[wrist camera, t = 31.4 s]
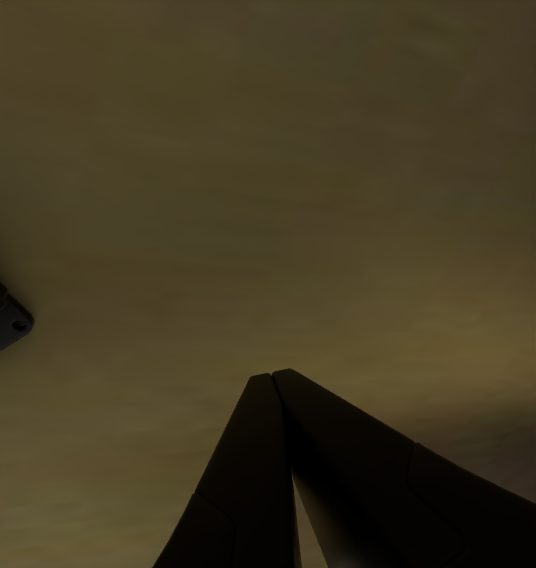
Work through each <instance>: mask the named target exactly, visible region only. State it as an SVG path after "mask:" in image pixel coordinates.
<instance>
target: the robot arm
mask: <svg viewBox="0 0 536 568" xmlns="http://www.w3.org/2000/svg"><path fill="white" fill-rule="evenodd" d="M17 320H18V321H22V322H24V323H25V325H24V326H20V325H18V324H16V322H15V321H17ZM33 325H34V318H33V317H32V315H31V314H30V313H29V312H28V311H26V310H25V309H24V308H23V307H22V306H21V305H20V304H19V303H18V302H17V301H16V300H15V299H14V298H12V297H11V296H10V295H9V294H8V293H7V288H6V287H5V286H4V285H3V284H2V283H0V351H1V350H3V349H4V348H6V347H8V346H9V345H11V344H12V343H14V342H15V341H17V340H19V339H20V338H22V337H23V336H25V335H26V334H28V333H29V332H30V331H31V329H32V327H33ZM291 472H292V473H291ZM292 475H293V479H294V482H295V484H296V487H297V490H298V492H299V495H300V497H301V500H302V502H303V505H304V507H305V510H306V513H307V515H308V518H309V520H310V523H311V525H312V528H313V530H314V533H315V535H316V538H317V540H318V543H319V545H320V548H321V550H322V553H323V555H324V558H325V560H326V563H327V565H328V568H536V504H535V503H533V502H531V501H529V500H527V499H525V498H523V497H520V496H518V495H516V494H514V493H512V492H510V491H508V490H506V489H504V488H502V487H500V486H498V485H496V484H494V483H492V482H490V481H488V480H485V479H483V478H481V477H479V476H477V475H475V474H473V473H471V472H469V471H467V470H465V469H464V468H462V467H460V466H458V465H456V464H455V463H453V462H451V461H449V460H447V459H446V458H444V457H442V456H440V455H438V454H437V453H435V452H433V451H432V450H430V449H428V448H426V447H425V446H423V445H421V444H420V443H415V442H414V441H413V440H411V439H410V438H408V437H406V436H405V435H403V434H401V433H400V432H398V431H396V430H395V429H393V428H391V427H390V426H388V425H386V424H384V423H383V422H381V421H379V420H378V419H376V418H374V417H373V416H371V415H369V414H368V413H366V412H364V411H362V410H361V409H359V408H357V407H356V406H354V405H352V404H351V403H349V402H347V401H346V400H344V399H342V398H341V397H339V396H337V395H335V394H334V393H332V392H330V391H329V390H327V389H325V388H324V387H322V386H320V385H319V384H317V383H315V382H313V381H312V380H310V379H308V378H307V377H305V376H303V375H302V374H300V373H298V372H297V371H295V370H293V369H290V368H289V369H284V370H279V371H275V372H273V373H272V376H271V374H269V373H264V374H259V375H255V376H251V377H250V378H249V380H248V382H247V385H246V387H245V389H244V391H243V393H242V395H241V397H240V399H239V401H238V403H237V405H236V407H235V409H234V411H233V413H232V415H231V418H230V420H229V422H228V424H227V426H226V428H225V430H224V432H223V434H222V436H221V438H220V440H219V442H218V444H217V446H216V448H215V450H214V453H213V455H212V457H211V459H210V461H209V463H208V465H207V467H206V469H205V471H204V473H203V475H202V477H201V479H200V481H199V483H198V485H197V488H196V490H195V493H194V494H192V496H191V498H190V500H189V503H188V505H187V507H186V509H185V511H184V513H183V515H182V517H181V519H180V520H179V522H178V524H177V526H176V528H175V530H174V532H173V534H172V535H171V537H170V539H169V541H168V543H167V544H166V546H165V548H164V549H163V551H162V552H161V554H160V556H159V557H158V559H157V561H156V562H155V564H154V566H153V567H152V568H302V565H301V556H300V546H299V536H298V526H297V516H296V507H295V497H294V488H293V480H292Z"/></svg>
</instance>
